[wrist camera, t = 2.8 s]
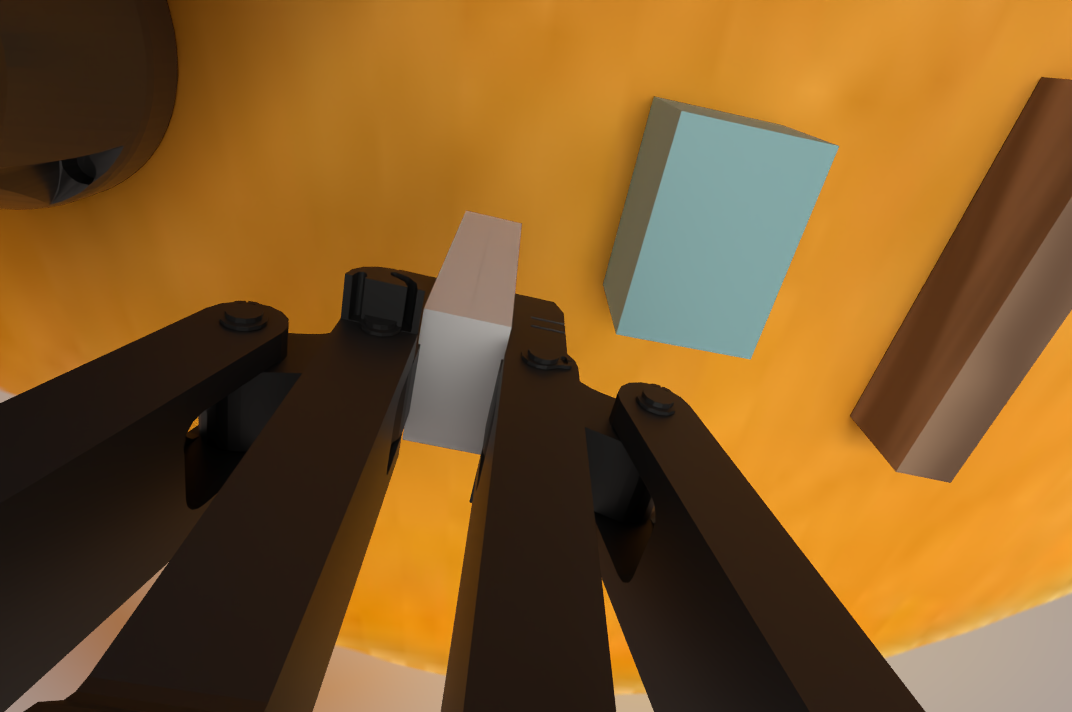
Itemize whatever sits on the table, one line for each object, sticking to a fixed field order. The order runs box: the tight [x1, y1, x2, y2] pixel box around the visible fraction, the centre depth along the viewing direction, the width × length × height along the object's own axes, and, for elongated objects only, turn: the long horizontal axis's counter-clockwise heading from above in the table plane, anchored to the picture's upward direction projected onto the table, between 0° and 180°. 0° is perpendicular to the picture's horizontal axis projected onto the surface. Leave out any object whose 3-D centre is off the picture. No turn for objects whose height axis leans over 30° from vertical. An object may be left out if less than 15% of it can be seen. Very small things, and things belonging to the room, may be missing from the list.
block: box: [603, 96, 839, 359], centre depth 27 cm, size 6×9×6 cm, turn 169°
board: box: [850, 77, 1072, 483], centre depth 29 cm, size 3×18×5 cm, turn 167°
